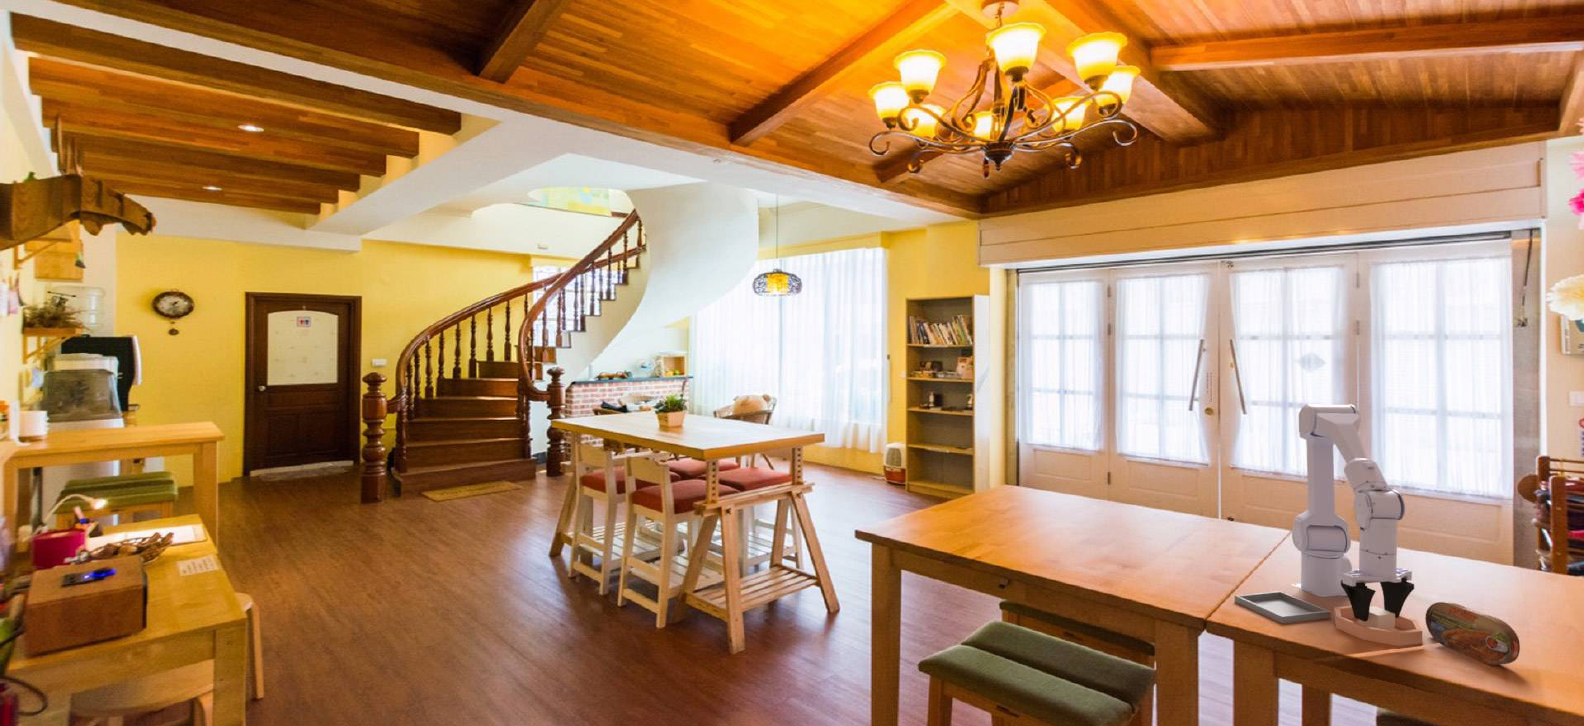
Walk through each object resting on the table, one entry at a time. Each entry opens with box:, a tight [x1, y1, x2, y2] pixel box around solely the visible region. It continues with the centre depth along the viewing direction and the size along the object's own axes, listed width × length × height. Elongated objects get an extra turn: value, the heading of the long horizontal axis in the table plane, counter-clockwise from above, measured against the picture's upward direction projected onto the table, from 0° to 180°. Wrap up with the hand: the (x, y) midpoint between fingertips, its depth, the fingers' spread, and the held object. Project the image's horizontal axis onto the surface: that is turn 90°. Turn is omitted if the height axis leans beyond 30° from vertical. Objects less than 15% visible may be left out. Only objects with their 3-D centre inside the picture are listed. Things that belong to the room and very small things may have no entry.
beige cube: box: [1358, 605, 1395, 631], centre depth 140 cm, size 4×4×4 cm
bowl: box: [1333, 605, 1423, 650], centre depth 140 cm, size 13×13×3 cm
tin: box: [1424, 601, 1521, 666], centre depth 131 cm, size 15×3×8 cm, turn 5°
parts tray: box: [1234, 590, 1332, 625], centre depth 151 cm, size 12×12×2 cm
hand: (1376, 617), depth 140 cm, fingers open, 7 cm apart
